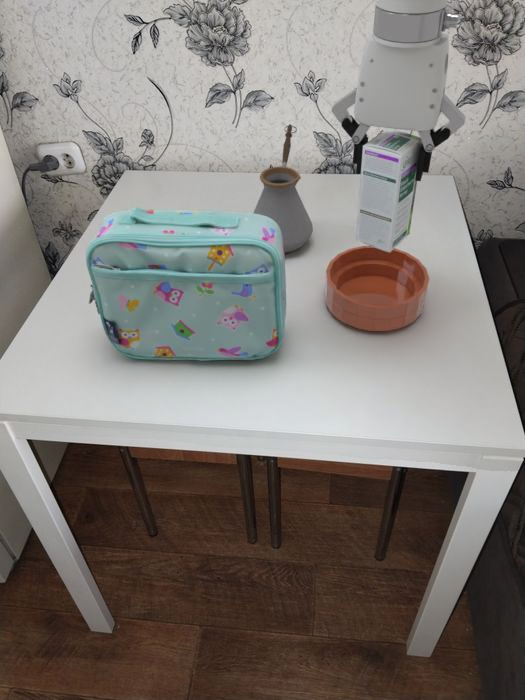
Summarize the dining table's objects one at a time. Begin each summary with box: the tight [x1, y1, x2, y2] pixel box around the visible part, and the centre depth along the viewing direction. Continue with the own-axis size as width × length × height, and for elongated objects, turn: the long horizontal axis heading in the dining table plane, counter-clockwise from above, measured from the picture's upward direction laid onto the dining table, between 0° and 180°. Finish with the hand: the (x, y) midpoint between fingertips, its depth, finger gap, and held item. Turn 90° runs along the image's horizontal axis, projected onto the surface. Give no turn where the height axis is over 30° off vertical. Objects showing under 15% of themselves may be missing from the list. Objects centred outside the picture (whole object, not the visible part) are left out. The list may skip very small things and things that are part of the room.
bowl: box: [324, 245, 430, 332], centre depth 91 cm, size 15×15×6 cm
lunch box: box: [85, 206, 287, 362], centre depth 80 cm, size 27×10×21 cm, turn 87°
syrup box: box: [355, 128, 422, 253], centre depth 79 cm, size 6×6×14 cm
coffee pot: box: [253, 123, 314, 254], centre depth 104 cm, size 21×12×15 cm, turn 171°
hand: (389, 171), depth 77 cm, fingers closed on syrup box, 7 cm apart
